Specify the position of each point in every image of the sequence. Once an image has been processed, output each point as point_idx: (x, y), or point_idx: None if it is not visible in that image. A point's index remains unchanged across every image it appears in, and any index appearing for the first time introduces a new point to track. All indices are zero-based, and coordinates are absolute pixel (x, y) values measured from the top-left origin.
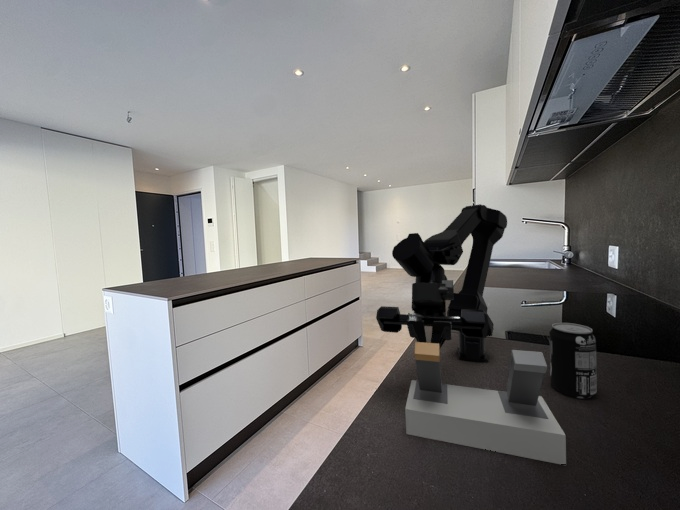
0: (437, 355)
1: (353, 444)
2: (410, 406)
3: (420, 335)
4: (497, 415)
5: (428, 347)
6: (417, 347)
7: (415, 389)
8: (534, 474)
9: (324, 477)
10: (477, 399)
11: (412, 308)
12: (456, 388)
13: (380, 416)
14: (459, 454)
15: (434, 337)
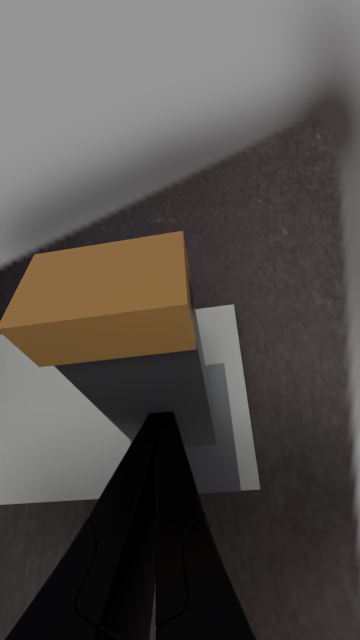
0: (44, 254)
1: (326, 242)
2: (222, 320)
3: (206, 626)
4: (11, 367)
5: (86, 285)
6: (166, 266)
7: (230, 420)
8: None
9: (334, 154)
10: (49, 430)
11: None
12: (105, 477)
13: (310, 356)
14: None
15: (74, 608)
